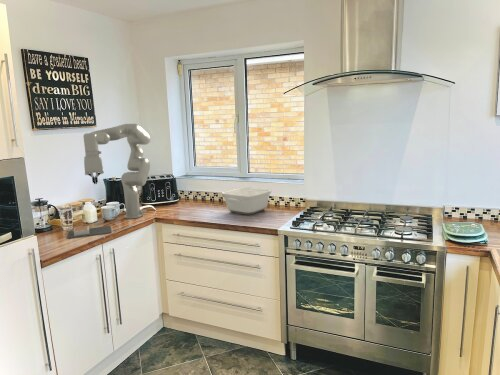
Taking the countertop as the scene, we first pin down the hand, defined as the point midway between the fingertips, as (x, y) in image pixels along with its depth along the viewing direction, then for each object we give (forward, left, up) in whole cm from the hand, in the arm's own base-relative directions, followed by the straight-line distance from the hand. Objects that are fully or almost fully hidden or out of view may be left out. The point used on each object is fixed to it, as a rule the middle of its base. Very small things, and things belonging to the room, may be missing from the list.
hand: (95, 183), depth 229 cm
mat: (+6, +4, -29) cm, 30 cm away
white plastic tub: (-98, +3, -29) cm, 102 cm away
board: (+6, +4, -27) cm, 28 cm away
